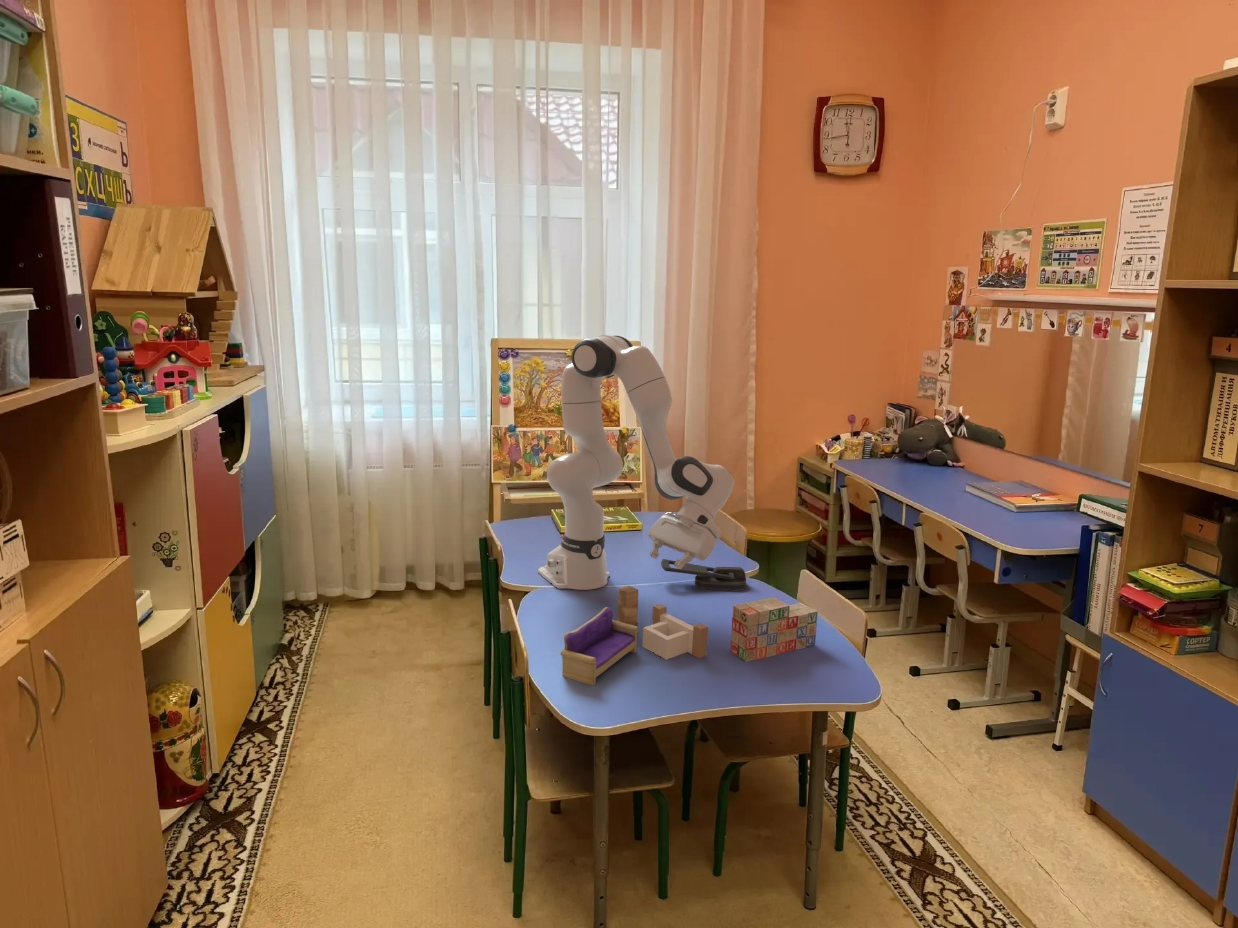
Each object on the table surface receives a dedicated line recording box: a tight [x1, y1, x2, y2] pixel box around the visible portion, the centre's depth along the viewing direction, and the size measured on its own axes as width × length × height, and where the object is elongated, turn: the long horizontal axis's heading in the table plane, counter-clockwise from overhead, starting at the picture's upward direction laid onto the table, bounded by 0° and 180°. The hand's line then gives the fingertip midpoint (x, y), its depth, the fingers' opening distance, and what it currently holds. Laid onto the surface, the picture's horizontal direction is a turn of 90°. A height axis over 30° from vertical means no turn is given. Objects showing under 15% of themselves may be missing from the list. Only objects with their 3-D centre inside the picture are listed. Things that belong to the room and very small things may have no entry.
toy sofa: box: [560, 606, 639, 686], centre depth 191 cm, size 21×9×10 cm, turn 150°
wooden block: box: [617, 585, 639, 628], centre depth 210 cm, size 4×4×11 cm
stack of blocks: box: [729, 597, 818, 662], centre depth 202 cm, size 21×6×12 cm, turn 118°
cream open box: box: [642, 603, 709, 660], centre depth 201 cm, size 17×9×8 cm, turn 40°
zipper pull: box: [660, 558, 747, 591], centre depth 243 cm, size 9×7×25 cm
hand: (664, 562), depth 215 cm, fingers open, 8 cm apart
